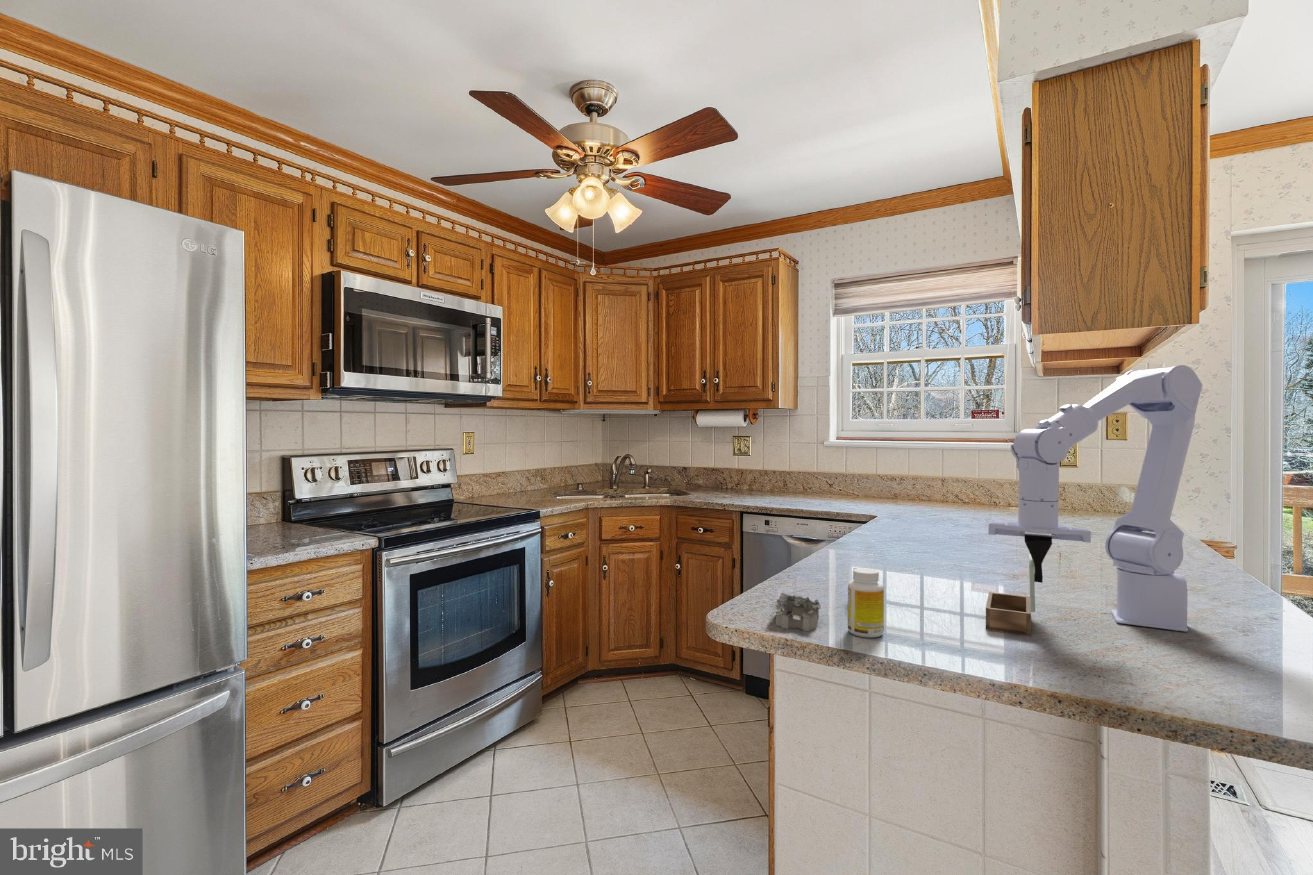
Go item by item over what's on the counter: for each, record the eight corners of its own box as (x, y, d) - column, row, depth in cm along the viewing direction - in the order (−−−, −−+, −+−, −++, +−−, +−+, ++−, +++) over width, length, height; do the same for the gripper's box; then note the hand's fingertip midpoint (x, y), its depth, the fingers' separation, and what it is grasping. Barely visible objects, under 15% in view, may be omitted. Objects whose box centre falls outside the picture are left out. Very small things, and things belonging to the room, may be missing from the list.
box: (1029, 616, 110) (1029, 596, 110) (1030, 636, 100) (1030, 613, 100) (988, 611, 113) (988, 591, 113) (985, 629, 103) (985, 608, 103)
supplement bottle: (891, 636, 99) (891, 573, 99) (862, 640, 97) (863, 575, 97) (868, 626, 105) (868, 565, 104) (840, 629, 103) (840, 568, 103)
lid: (1029, 594, 110) (1034, 594, 110) (1030, 611, 99) (1035, 612, 99) (1028, 553, 110) (1033, 553, 110) (1029, 566, 99) (1034, 567, 99)
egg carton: (816, 634, 101) (816, 609, 101) (770, 628, 104) (770, 604, 104) (823, 615, 111) (823, 592, 111) (781, 611, 114) (781, 588, 114)
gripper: (988, 499, 104) (986, 579, 104) (1093, 505, 97) (1091, 592, 97) (989, 495, 110) (988, 572, 110) (1088, 501, 103) (1087, 582, 103)
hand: (1036, 580), depth 104 cm, fingers closed, pressing on lid
